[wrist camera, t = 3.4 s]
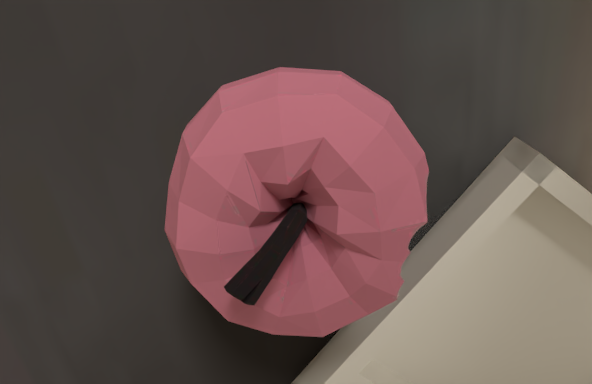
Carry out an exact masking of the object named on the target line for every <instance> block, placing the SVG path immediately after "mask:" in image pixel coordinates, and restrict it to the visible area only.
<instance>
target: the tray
mask: <svg viewBox="0 0 592 384" xmlns="http://www.w3.org/2000/svg"><path fill="white" fill-rule="evenodd" d="M410 252H411V253H410V255H409V256H408V257H407V258H406V260H405V261H404V263H403V265H402V267H401V277H402V278H403V280H404V283H403V284H402V286H401V287H400V289H399V292H398V294H399V297H398V298H397V300H396V301H394V302H392V303H390V304H388V305H386V306H384V307H383V308H381V309H379V310H377V311H375V312H373V313H371V314H369V315H367V316H365V317H363V318H361V319H359V320H357V321H355V322H353V323H351V324H349V325H347V326H344V327H342V328H341V329H340V330H339V331H338V332H337V333H336V334H335V335H334V337H333V338H332V339H331V340H330V341H329V342H328V343H327V344H326V345H325V346H324V348H323V349H322V350H321V351H320V352H319V353H318V354H317V355H316V356H315V358H314V359H313V360H312V361H311V362H310V363H309V364H308V365H307V366H306V367H305V369H304V370H303V371H302V372H301V373H300V374H299V375H298V376H297V377H296V379H295V380H294V381H293V382H292V383H291V384H592V194H591V193H590V192H589V191H588V190H586V189H585V188H584V187H583V186H581V185H580V184H579V183H577V182H576V181H575V180H574V179H572V178H571V177H570V176H569V175H567V174H566V173H565V172H564V171H562V170H561V169H560V168H559V167H557V166H556V165H555V164H554V163H552V162H551V161H550V160H549V159H547V158H546V157H545V156H544V155H542V154H541V153H540V152H538V151H537V150H535V149H534V148H532V147H530V146H529V145H527V144H526V143H524V142H523V141H521V140H520V139H518V138H516V137H515V136H514V137H513V139H512V140H511V141H510V142H509V143H508V144H507V145H506V146H505V147H504V149H503V150H502V151H501V152H500V153H499V154H498V155H497V156H496V157H495V158H494V160H493V161H492V162H491V163H490V164H489V165H488V166H487V167H486V168H485V170H484V171H483V172H482V173H481V174H480V175H479V176H478V177H477V178H476V179H475V181H474V182H473V183H472V184H471V185H470V186H469V187H468V188H467V189H466V191H465V192H464V193H463V194H462V195H461V196H460V197H459V198H458V199H457V200H456V202H455V203H454V204H453V205H452V206H451V207H450V208H449V209H448V210H447V212H446V213H445V214H444V215H443V216H442V217H441V218H440V219H439V220H438V221H437V223H436V224H435V225H434V226H433V227H432V228H431V229H430V230H429V231H428V233H427V234H426V235H425V236H424V237H423V238H422V239H421V240H420V241H419V243H418V244H417V245H416V246H415V247H414V248H413V249H412V250H411V251H410Z"/></svg>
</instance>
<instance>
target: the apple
mask: <svg viewBox="0 0 592 384" xmlns="http://www.w3.org/2000/svg"><path fill="white" fill-rule="evenodd" d="M428 175H429V169H428V165H427V161H426V157H425V153H424V151H423V150H422V148H421V147H420V145H419V144H418V143H417V141H416V140H415V138H414V137H413V135H412V134H411V132H410V131H409V130H408V128H407V127H406V125H405V124H404V122H403V121H402V119H401V118H400V117H399V115H398V114H397V112H396V111H395V109H394V108H393V106H392V105H391V104H390V102H389V101H388V100H386V99H384V98H383V97H381V96H380V95H378V94H376V93H375V92H373V91H372V90H370V89H368V88H367V87H365V86H364V85H362V84H360V83H359V82H357V81H356V80H354V79H352V78H351V77H349V76H348V75H346V74H344V73H343V72H341V71H329V70H315V69H300V68H286V67H278V68H275V69H272V70H269V71H266V72H263V73H260V74H256V75H253V76H250V77H247V78H244V79H241V80H237V81H234V82H231V83H228V84H225V85H222V86H221V87H220V88H219V89H218V90H217V92H216V93H215V94H214V95H213V96H212V97H211V98H210V99H209V101H208V102H207V103H206V104H205V105H204V106H203V107H202V108H201V110H200V111H199V112H198V113H197V114H196V115H195V116H194V117H193V119H192V120H191V121H190V122H189V123H188V124H187V126H186V128H185V130H184V132H183V133H182V137H181V140H180V144H179V148H178V151H177V155H176V159H175V162H174V166H173V169H172V173H171V177H170V180H169V187H168V199H167V210H166V221H165V232H166V234H167V237H168V239H169V242H170V244H171V247H172V249H173V252H174V254H175V256H176V259H177V261H178V264H179V266H180V269H181V271H182V272H183V274H184V275H185V276H186V278H187V279H188V280H189V282H190V283H191V284H192V285H193V286H194V287H195V288H196V289H197V290H198V291H199V292H200V293H201V294H202V295H203V296H204V297H205V298H206V299H207V300H208V301H209V302H210V303H211V304H212V306H213V307H214V308H215V309H216V310H217V311H218V312H219V313H220V314H221V315H222V316H223V317H224V318H225V319H226V320H227V321H229V322H233V323H236V324H239V325H243V326H246V327H249V328H253V329H256V330H259V331H263V332H266V333H270V334H273V335H292V336H311V337H324V336H326V335H328V334H330V333H332V332H334V331H336V330H338V329H340V328H342V327H344V326H347V325H349V324H351V323H353V322H355V321H357V320H359V319H361V318H363V317H365V316H367V315H369V314H371V313H373V312H375V311H377V310H379V309H381V308H383V307H384V306H386V305H388V304H390V303H392V302H394V301H396V300H397V298H398V297H399V294H398V292H399V289H400V287H401V286H402V284H403V283H404V280H403V278H402V277H401V267H402V265H403V263H404V261H405V260H406V258H407V257H408V256H409V255H410V253H411V252H410V251H409V249H408V246H409V243H410V240H411V238H412V237H413V235H414V234H415V233H416V231H417V230H418V229H419V228H421V227H422V226H423V225H425V224H426V223H427V203H426V194H427V178H428Z"/></svg>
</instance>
